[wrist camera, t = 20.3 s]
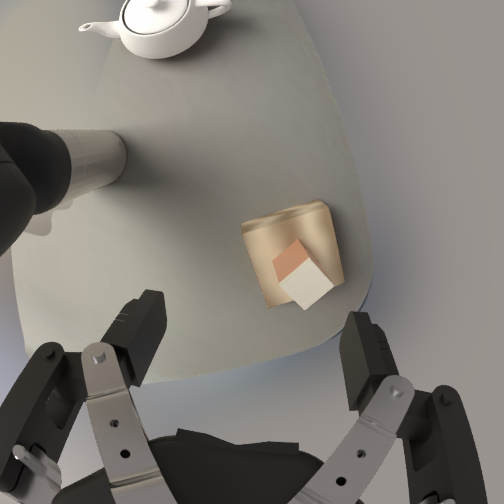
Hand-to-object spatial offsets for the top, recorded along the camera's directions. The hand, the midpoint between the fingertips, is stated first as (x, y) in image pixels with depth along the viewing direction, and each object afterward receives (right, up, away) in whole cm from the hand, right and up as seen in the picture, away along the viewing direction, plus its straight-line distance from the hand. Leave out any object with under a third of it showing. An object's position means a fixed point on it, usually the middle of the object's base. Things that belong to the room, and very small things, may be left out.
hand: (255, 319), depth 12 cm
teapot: (-14, +38, +22) cm, 46 cm away
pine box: (+6, +4, +37) cm, 37 cm away
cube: (+6, +1, +31) cm, 32 cm away
